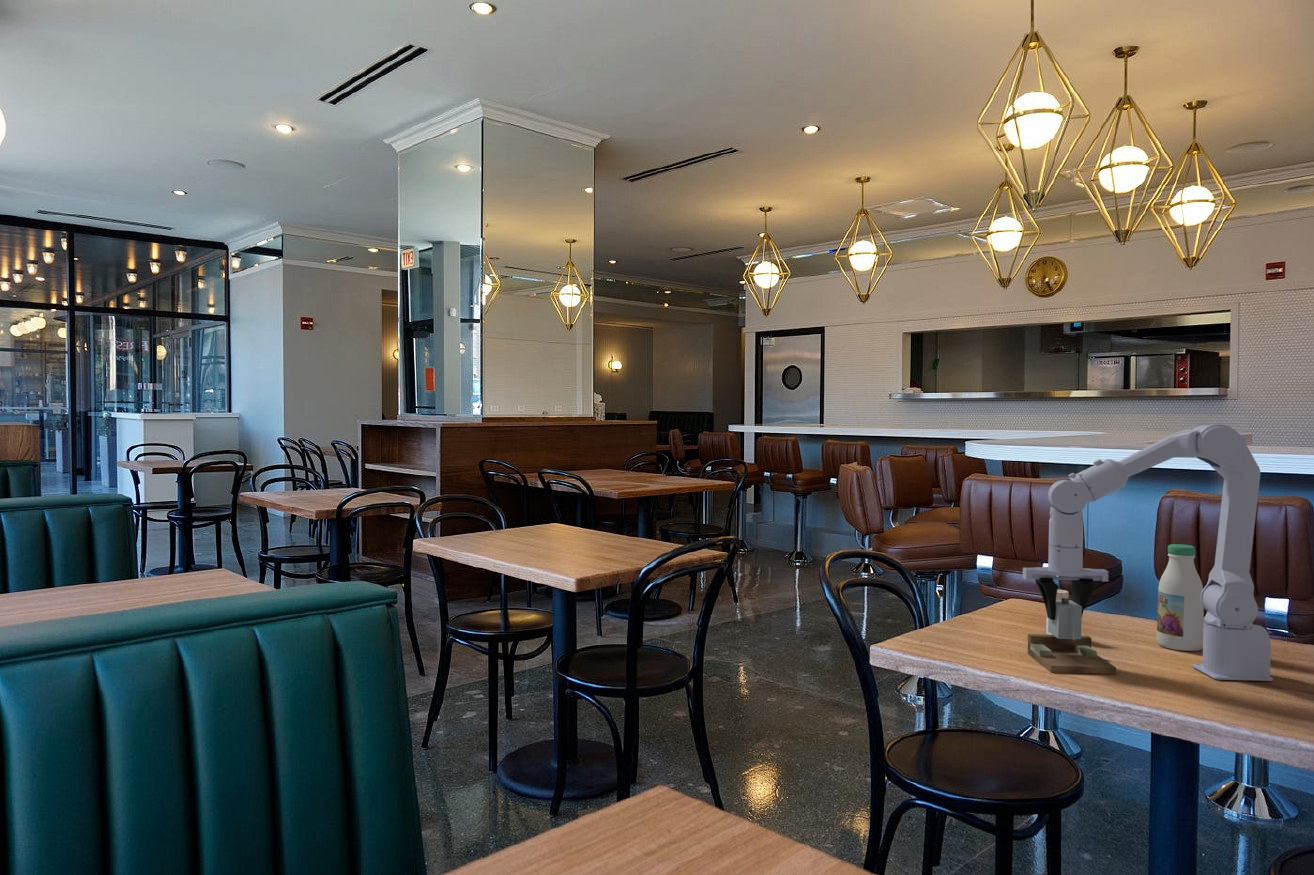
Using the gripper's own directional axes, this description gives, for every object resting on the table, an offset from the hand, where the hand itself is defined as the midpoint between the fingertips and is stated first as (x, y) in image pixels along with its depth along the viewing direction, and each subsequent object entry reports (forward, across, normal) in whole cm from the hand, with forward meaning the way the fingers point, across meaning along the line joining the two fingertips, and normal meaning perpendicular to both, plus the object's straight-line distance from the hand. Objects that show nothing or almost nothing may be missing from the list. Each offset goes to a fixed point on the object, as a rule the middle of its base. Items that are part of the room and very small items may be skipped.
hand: (1064, 619), depth 158 cm
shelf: (+8, 0, +2) cm, 8 cm away
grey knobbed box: (+3, 0, +1) cm, 3 cm away
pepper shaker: (+8, -6, -17) cm, 20 cm away
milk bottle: (+8, -26, -12) cm, 30 cm away
